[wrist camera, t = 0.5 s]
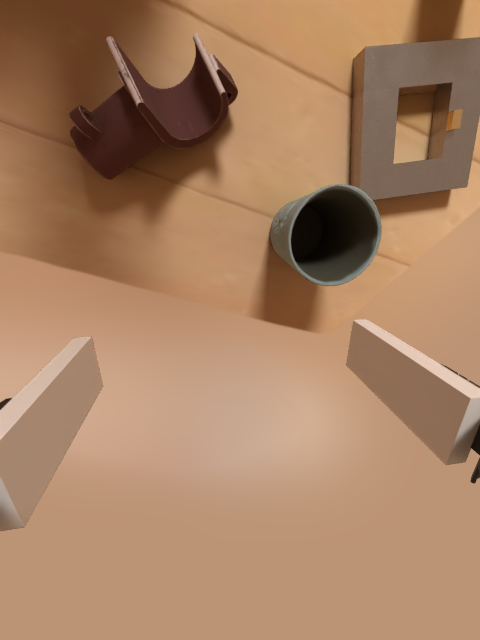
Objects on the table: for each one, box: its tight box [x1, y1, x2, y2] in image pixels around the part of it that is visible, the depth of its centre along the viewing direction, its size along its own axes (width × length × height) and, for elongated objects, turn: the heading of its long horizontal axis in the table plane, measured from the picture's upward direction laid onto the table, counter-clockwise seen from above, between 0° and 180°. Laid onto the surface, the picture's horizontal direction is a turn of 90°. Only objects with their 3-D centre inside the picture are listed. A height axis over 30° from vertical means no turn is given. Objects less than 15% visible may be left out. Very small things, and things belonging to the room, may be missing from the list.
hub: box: [350, 37, 480, 200], centre depth 34 cm, size 16×16×3 cm
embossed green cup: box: [270, 184, 382, 286], centre depth 33 cm, size 10×10×12 cm
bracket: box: [69, 33, 238, 179], centre depth 28 cm, size 6×17×10 cm, turn 119°
